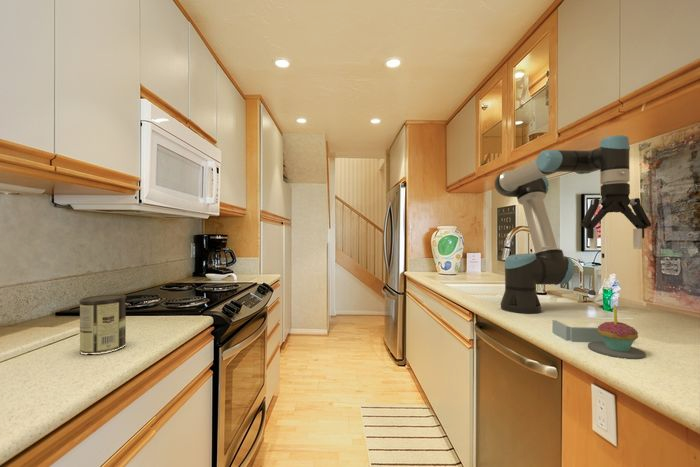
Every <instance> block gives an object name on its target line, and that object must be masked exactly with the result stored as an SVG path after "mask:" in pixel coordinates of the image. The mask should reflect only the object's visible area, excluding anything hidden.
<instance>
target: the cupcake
mask: <svg viewBox="0 0 700 467" xmlns="http://www.w3.org/2000/svg"><path fill="white" fill-rule="evenodd" d="M597 328H598V332H599V333H600V334H601V335H602V337H603V339H604V341H605V344H606V347H607V348H608V349H611V350H615V351H620V352H628V351H629V350H630V347H632V344H633V343H634V342H635V341H636V340H638V338H639V332H638V331H637V330H636V328H634V327H632V326H630V325H628V324H627V323H624V322H619V321H618V308H617V307H616V304H614V307H613V321H605V322H603V323H601V324H599V325H597Z"/></svg>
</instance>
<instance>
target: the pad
mask: <svg viewBox="0 0 700 467" xmlns="http://www.w3.org/2000/svg"><path fill="white" fill-rule="evenodd" d="M587 349H589V350H590V351H592V352H594V353H597V354H600V355H604V356H607V355H608V357H612V358H617V357H619V358H618V359H624V358H626V359H625V360H641V359H644V358H646V352H645V351H644V350H641V349H640V348H636V347H633V346H631V347H630V350H629V351H628V352H620V351H615V350H611V349H608V348H607V347H606V344H605V342H588V343H587Z"/></svg>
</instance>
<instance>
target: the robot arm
mask: <svg viewBox="0 0 700 467" xmlns="http://www.w3.org/2000/svg"><path fill="white" fill-rule="evenodd" d="M629 138H630V137H628V136H627V135H624V134H622V135H621V134H619V135H618V134H617V135H616V134H615V135H610V136H607V137H604V138H602V139H601V140H600V142H599V147H596V148H594V149H591V150H575V149H574V150H573V149H571V150H570V149H569V150H566V149H565V150H563V149H547V150H546V149H545V150H542V151H541V152H539V154H538V155H537V157H536V159H533V160H531V161H529V162H528V163H524V164H523V165H521V166H519V167H517V168H515V169H512V170H511V169H508V170H504V171H503V172H501V173H499V174H498V175H497V176H496V177H495V181H494V187H495V188H494V189H495V190H496V191H497V193H498V194H500V195H501V196H502V197H508V198H517V202H518V204H519V205H522V207H523V211H524V216H525V219H526V222H527V226H528V230H529V234H530V237H531V241H532V246H533V249H534V253H517V254H512V255H511V254H510V255H507V256H506V257H505V260H504V293H503V296H502V299H501V301H500V309H502V310H504V311H506V312H513V313H518V314H539V313H541V312H542V305H541V303H540V300H539V297H538V294H537V285H555V286H557V285H564V284H567V283H569V282H570V281H571V280H572V278H573V276H574V273H575V264H574V262H573V259H571V258H570V257H569V256H566V255H564V251H563V249H561V248H559V247H558V244H557V243H556V239H555V236H554V231H553V229H552V225H551V222H550V219H549V216H548V212H547V208H546V205H545V202H544V200H545V198H546V196H547V194H548V192H549V187H550V184H549V181H548V178H547V176H550V175H553V174H556V173H571V172H572V173H576V174H578V175H584V174H591V173H593V172H597V171H599V172H600V182H599V183H600V185H601V186H600V197H601V198H598V197H597V198H591V199H590V205H589V207H588V210H587V212H586V213H585V215H584V217H583V219H582V221H581V222H580V227H582V228H584V229H586V237H587V239H589V249H593V250H595V249H596V250H597V249H598V228H595V227H596V226H597V225H598V224H599V223H600V222H601V221H602V219H604V217H606V215H607V214H609V213H621V215H622V214H623V215H624V217H626V219H627V220H629V222H630V223H631V224H632V225H633V226H634V228H633V229H632V231H633V233H632V240H633V241H632V243H633V244H632V245H633V249H635V250H639V249H640V250H642V249H643V239H645V229H647V228H648V227H652V222H651V221H650V219H649V217H648V215H647V213H646V212H645V210H644V208H643V206H642V204H641V199H640V198H639V197H636V198H630V197H629V196H630V194H631V192H630V191H631V190H630V189H631V185H630V183H629V182H630V177H631V176H630V149H631V147H630V139H629ZM600 205H601V208H600V209H599V210H598V208H599V206H600ZM629 205H630V206H631V207H630V206H629ZM597 210H598V212H597ZM596 212H597V213H596ZM595 214H596V215H595Z"/></svg>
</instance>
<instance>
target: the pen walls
mask: <svg viewBox="0 0 700 467" xmlns="http://www.w3.org/2000/svg"><path fill="white" fill-rule="evenodd" d="M551 323H552V324H551V325H552V333H553V334H554V335H556V336H558V337H560V338H561V339H563V340H565V341H570V342H574V343H576V342H577V343H578V342H579V343H591V342H605V341H604V339H603V337H602V335H601V334H600V333H599V332H598V327H597V326H595V327H592V326H590V327H587V326H568V324H565V323H562V322H560V321H558V320H556V319H554V320H552V322H551Z"/></svg>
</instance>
